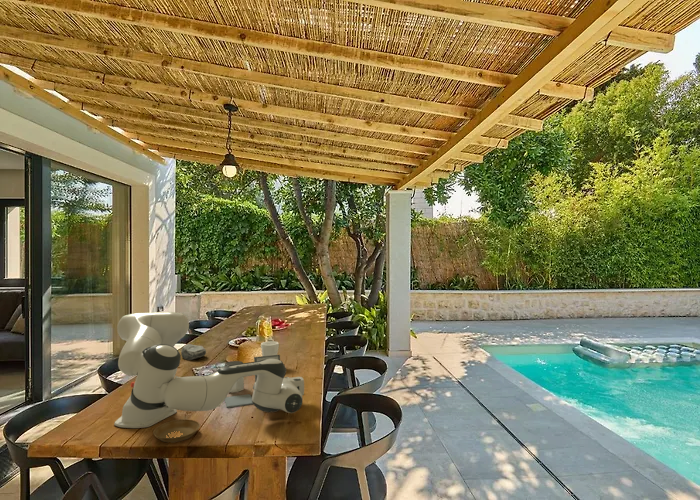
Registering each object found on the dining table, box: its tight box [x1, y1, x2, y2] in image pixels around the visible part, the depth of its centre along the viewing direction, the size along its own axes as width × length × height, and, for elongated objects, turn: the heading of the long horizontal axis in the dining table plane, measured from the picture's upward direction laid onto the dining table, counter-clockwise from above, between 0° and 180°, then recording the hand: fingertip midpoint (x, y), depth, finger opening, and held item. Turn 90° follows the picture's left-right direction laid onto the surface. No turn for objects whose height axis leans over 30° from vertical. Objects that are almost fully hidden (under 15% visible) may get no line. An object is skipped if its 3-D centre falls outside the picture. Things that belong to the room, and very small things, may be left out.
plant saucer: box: [153, 418, 201, 443], centre depth 142 cm, size 15×15×3 cm
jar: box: [224, 360, 245, 393], centre depth 189 cm, size 9×8×12 cm
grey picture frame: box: [253, 354, 281, 383], centre depth 189 cm, size 12×12×1 cm
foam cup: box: [260, 341, 280, 356], centre depth 225 cm, size 10×9×13 cm
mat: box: [224, 393, 254, 409], centre depth 174 cm, size 11×11×1 cm
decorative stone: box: [180, 343, 207, 361], centre depth 243 cm, size 15×14×10 cm
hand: (275, 380), depth 177 cm, fingers open, 8 cm apart
